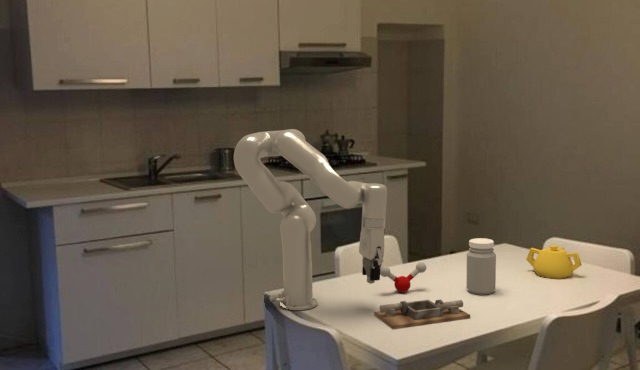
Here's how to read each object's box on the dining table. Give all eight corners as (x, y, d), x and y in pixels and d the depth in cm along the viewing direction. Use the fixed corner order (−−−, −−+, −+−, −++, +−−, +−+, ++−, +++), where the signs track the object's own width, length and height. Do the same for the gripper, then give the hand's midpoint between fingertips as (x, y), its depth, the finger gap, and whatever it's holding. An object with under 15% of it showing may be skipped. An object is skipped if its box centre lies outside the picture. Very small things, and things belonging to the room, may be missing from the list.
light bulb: (374, 287, 225) (376, 256, 224) (358, 283, 228) (359, 253, 227) (383, 282, 230) (384, 252, 229) (366, 279, 234) (368, 249, 232)
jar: (461, 292, 246) (461, 241, 244) (475, 285, 253) (476, 236, 251) (486, 297, 239) (486, 245, 237) (500, 290, 247) (501, 240, 244)
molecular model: (385, 298, 241) (385, 269, 240) (376, 293, 246) (376, 265, 245) (428, 290, 249) (428, 262, 248) (418, 286, 254) (418, 258, 253)
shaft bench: (393, 329, 211) (392, 312, 210) (374, 315, 224) (374, 299, 223) (470, 318, 219) (470, 302, 218) (447, 305, 232) (447, 289, 231)
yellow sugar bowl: (587, 270, 270) (588, 242, 269) (576, 282, 255) (577, 252, 253) (534, 264, 281) (535, 237, 279) (520, 275, 266) (521, 246, 264)
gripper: (352, 217, 233) (350, 270, 236) (373, 228, 217) (370, 285, 220) (373, 216, 236) (371, 269, 238) (395, 227, 220) (392, 284, 222)
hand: (370, 276), depth 229 cm, fingers closed on light bulb, 5 cm apart
